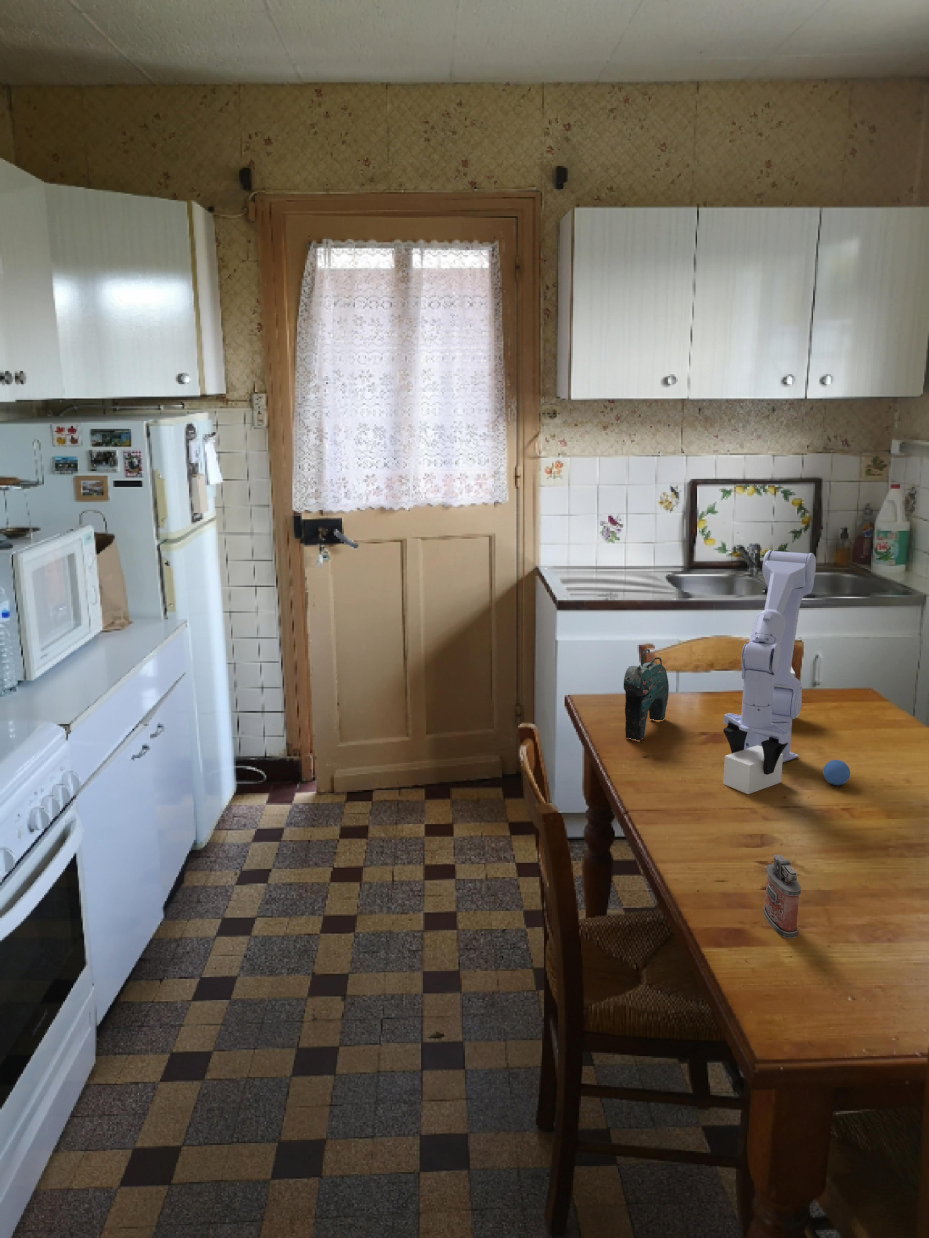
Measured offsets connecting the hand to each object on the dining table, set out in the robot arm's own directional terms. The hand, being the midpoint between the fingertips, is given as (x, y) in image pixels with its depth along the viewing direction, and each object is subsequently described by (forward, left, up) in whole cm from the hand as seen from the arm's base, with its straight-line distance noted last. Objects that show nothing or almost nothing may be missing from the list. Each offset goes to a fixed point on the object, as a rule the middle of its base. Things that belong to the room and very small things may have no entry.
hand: (753, 767), depth 189 cm
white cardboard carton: (0, 0, -4) cm, 4 cm away
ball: (+10, +13, -1) cm, 17 cm away
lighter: (+36, -38, -4) cm, 52 cm away
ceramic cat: (-35, +5, -4) cm, 35 cm away
